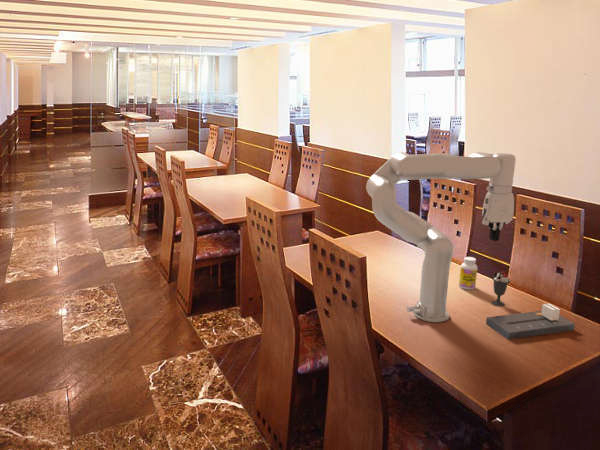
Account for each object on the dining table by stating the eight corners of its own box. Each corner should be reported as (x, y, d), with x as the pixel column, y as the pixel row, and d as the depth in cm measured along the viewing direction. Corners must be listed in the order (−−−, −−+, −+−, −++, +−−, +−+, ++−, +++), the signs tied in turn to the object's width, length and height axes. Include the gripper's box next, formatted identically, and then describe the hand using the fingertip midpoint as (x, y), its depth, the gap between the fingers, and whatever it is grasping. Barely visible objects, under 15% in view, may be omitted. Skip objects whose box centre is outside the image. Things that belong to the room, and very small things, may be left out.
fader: (551, 320, 173) (553, 309, 172) (541, 314, 178) (542, 304, 176) (558, 319, 174) (560, 308, 173) (547, 313, 178) (549, 303, 177)
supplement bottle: (459, 289, 207) (462, 260, 204) (457, 283, 213) (460, 255, 210) (476, 290, 206) (479, 261, 203) (473, 284, 212) (476, 256, 209)
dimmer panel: (508, 339, 165) (509, 332, 164) (486, 323, 176) (486, 317, 176) (574, 330, 172) (575, 323, 172) (548, 315, 183) (549, 309, 183)
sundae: (508, 308, 190) (513, 271, 186) (490, 306, 191) (494, 269, 187) (505, 301, 196) (510, 265, 192) (487, 299, 197) (492, 264, 193)
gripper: (488, 192, 166) (482, 244, 171) (525, 190, 170) (518, 241, 175) (474, 188, 173) (469, 238, 178) (511, 186, 177) (504, 235, 182)
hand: (493, 239), depth 176 cm, fingers closed
